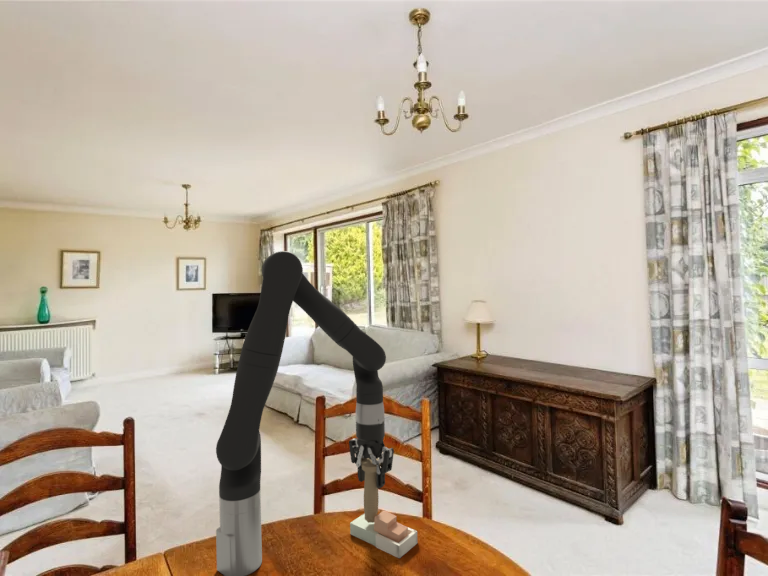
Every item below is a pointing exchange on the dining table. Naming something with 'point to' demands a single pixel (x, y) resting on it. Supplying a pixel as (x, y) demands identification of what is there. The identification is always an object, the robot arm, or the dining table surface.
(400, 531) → the salmon cube
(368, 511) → the handle
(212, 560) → the dining table surface
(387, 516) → the pink cube
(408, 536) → the tray
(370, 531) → the pale green flat block
